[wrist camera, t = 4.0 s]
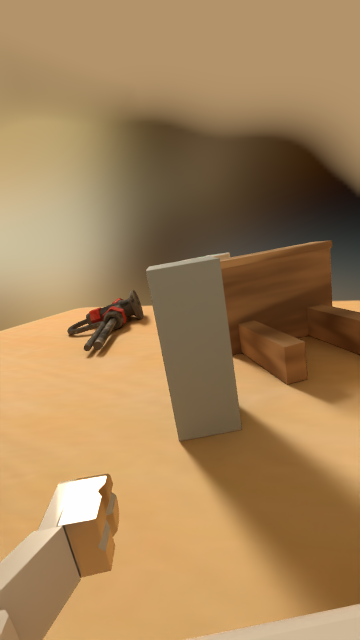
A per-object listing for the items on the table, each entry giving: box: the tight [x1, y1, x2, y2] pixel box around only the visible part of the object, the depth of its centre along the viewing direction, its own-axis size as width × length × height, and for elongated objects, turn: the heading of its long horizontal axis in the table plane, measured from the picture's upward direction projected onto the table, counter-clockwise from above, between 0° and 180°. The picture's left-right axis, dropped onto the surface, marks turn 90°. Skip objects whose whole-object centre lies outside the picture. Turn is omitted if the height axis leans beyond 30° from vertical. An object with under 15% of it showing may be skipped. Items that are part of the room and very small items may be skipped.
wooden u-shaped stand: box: [220, 241, 360, 385], centre depth 30 cm, size 12×14×11 cm
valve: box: [67, 291, 143, 351], centre depth 55 cm, size 6×26×15 cm
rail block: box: [146, 257, 242, 441], centre depth 21 cm, size 4×4×12 cm
